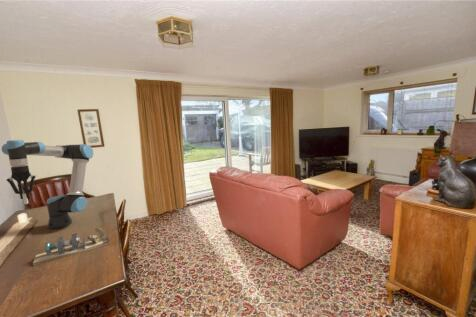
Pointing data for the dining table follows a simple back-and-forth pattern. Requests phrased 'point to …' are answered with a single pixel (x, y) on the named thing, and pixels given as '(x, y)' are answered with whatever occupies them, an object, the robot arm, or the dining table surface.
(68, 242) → the shaft
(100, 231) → the bone
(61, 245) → the grey angular blocks
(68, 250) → the board
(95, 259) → the dining table surface
